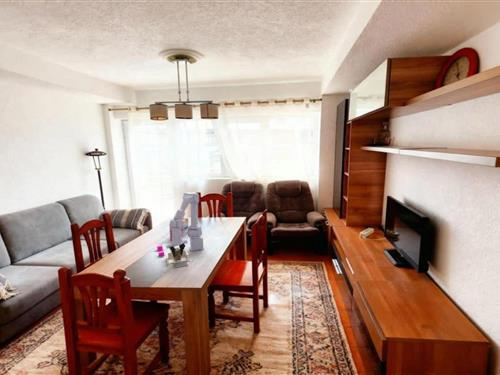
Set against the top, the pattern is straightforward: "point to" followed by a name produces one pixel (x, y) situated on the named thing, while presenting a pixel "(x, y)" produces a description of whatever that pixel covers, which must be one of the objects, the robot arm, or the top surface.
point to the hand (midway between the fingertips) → (177, 255)
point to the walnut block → (177, 254)
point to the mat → (180, 264)
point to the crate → (171, 260)
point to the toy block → (160, 248)
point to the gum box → (182, 228)
